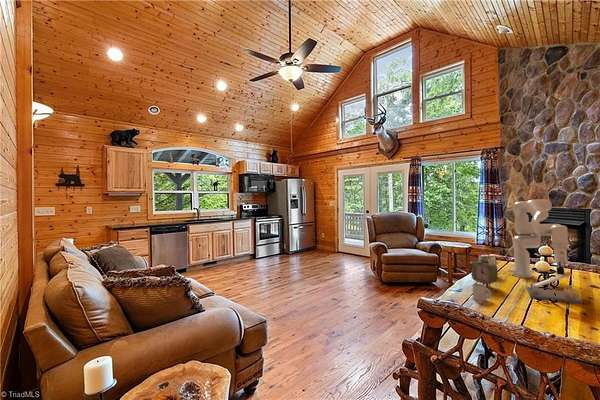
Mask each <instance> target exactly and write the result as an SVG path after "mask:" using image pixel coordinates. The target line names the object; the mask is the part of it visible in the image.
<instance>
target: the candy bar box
mask: <svg viewBox="0 0 600 400" xmlns="http://www.w3.org/2000/svg"><path fill="white" fill-rule="evenodd" d="M488 255H489V257H488ZM488 255H487V254H480V255H479V254H478V261H480V260H481V259H482V257H483V256H485V257H488V258H486V259H487V260H488V262H491V263H494V264H496V265H497V255H495V254H488ZM480 256H482V257H480Z"/></svg>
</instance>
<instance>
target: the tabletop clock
mask: <svg viewBox="0 0 600 400" xmlns="http://www.w3.org/2000/svg"><path fill="white" fill-rule="evenodd" d="M481 254H485V255H488V257H489V255H490V254H489V253H487V252H485V251H480V252H479V253H478V256H479V255H481ZM480 257H482V256H480ZM488 257H485V256H483V257H482V259H481V260H480V261H479V260H478V261H477V260H476V261H474V262H473V261H472V262H471V266H470V272H471V279H472V280H474V281H475V282H474V283H473V284H478V283H479V284H483V285H485V286H486V287H488V286H489V287H488V289H489V290H492V287H491V284H494V283H497V281H498V278H499V276H498V274H499V271H498V265H497V263H496V264H494V263H491V262H488V260H487V259H486V258H488Z"/></svg>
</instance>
